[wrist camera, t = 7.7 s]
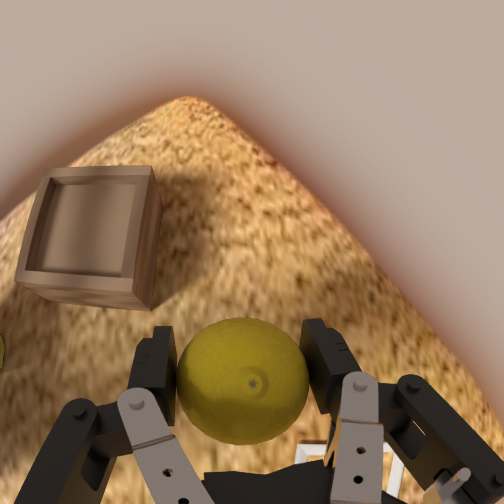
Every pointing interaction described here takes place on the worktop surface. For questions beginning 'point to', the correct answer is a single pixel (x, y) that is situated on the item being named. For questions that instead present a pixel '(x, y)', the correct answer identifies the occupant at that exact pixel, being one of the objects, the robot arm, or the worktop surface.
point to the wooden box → (93, 237)
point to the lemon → (242, 381)
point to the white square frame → (397, 464)
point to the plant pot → (1, 351)
